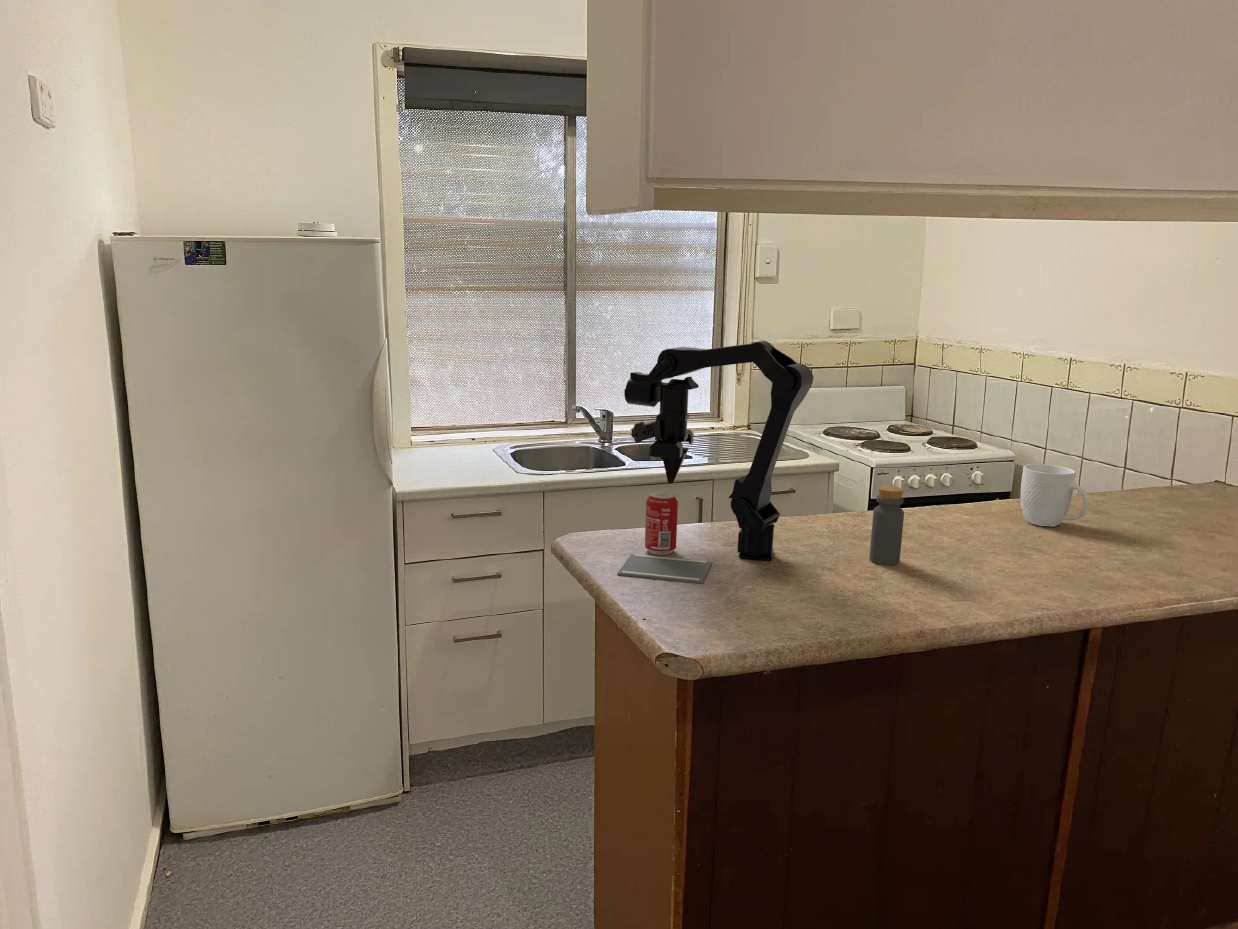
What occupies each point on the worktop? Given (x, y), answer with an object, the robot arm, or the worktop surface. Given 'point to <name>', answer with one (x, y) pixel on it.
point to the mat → (665, 568)
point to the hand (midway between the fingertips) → (670, 483)
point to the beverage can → (661, 522)
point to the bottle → (887, 527)
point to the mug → (1049, 494)
